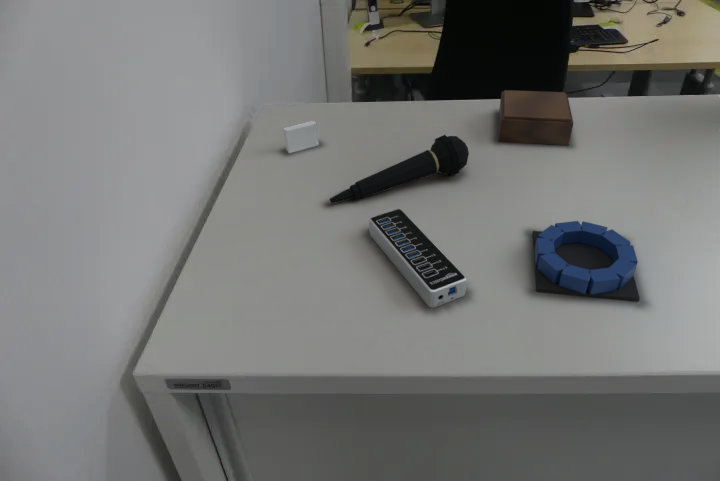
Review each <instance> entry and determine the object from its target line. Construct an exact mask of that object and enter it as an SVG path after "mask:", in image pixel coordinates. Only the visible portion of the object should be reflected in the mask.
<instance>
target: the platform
mask: <svg viewBox="0 0 720 481" xmlns="http://www.w3.org/2000/svg"><path fill="white" fill-rule="evenodd" d="M500 93H501V94H500V100H499V109H498V142H499V143H513V144H515V143H517V144H533V145H534V144H535V145H537V144H538V145H553V146H554V145H556V146H569V145H570V143H571V141H570V140H571V137H572V133H573V132H572V131H573V127H574V119H573V114H572V110H571V109H572V108H571V106H570V105H571V104H570V100H569V96H568V93H566V91H539V90H538V91H536V90H510V89H509V90H508V89H504V90H503V91H501V92H500Z"/></svg>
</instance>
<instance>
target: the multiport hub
mask: <svg viewBox="0 0 720 481" xmlns="http://www.w3.org/2000/svg"><path fill="white" fill-rule="evenodd" d="M368 227H369V228H368V229H369V236H370V237H371V239H372V240H373V241H374V242H375V243H376V245H377V246H378V247H379V248H380V250H381V251H382V252H383V253H384V254H385V255H386V256H387V258H388V259H389V260H390V262H391V263H392V264H393V265H394V266H395V267H396V269H397V270H398V271H399V272H400V274H401V275H402V276H403V277H404V279H405V280H406V281H407V283H408V284H409V285H410V286H411V287H412V289H413V290H414V291H415V292H416V294H418V296H419V297H420V298H421V299H422V300H423V302H424V303H425V304H426V305H427V307H428V308H431V309H435V308H437V307H439V306H442V305H444V304H447V303H450V302H453V301H455V300H458V299H460V298H462V297H464V296H466V290H467V279H468V277H467V276H466V275H465V274H464V272H462V270H461V269H460V268H459V267H458V266H457V265H456V263H454V262H453V261H452V260H451V259H450V257H448V256H447V255H446V253H445V252H443V251H442V250H441V249H440V248H439V247H438V245H436V243H435V242H434V241H433V240H432V239H431V238H430V237H429V236H428V235H427V234H426V233H425V232H424V231H423V230H422V229H421V228H420V226H418V224H416V222H415V221H414V220H413V219H412V218H411V217H410V216H409V215H408V214H407V213H406V212H405V211H404V210H403V209H402V208H396V209H392V210H389V211H386V212H383V213H380V214H377V215H374V216H371V217H369V218H368Z"/></svg>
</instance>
